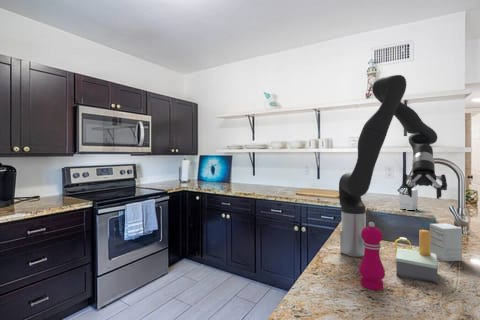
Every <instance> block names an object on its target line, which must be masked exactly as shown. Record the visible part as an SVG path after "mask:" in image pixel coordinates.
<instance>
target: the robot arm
mask: <svg viewBox="0 0 480 320" xmlns="http://www.w3.org/2000/svg"><path fill="white" fill-rule="evenodd" d="M371 89H372V90H371V91H372V94H373V96H374V97H375V99H376V100H377V101H378V102H380V103H381V104H380V106H379V108H378V109H377V110H376V111H375V112H374V113H373V114H372V115H371V116H370V117H369V118H368V120H367V121H365V123H364V124H363V127H362V129H361V132H360V134H359V137H358V140H357V159H356V163H355V166H354V168H353V170H352V172H345V173H344V174H342V175H341V176H340V178H339V181H338V193H339V194H338V195H339V204H340V207H341V211H340V212H341V217H340V219H341V228H340V229H339V239H340V240H339V241H340V242H339V243H340V244H339V245H340V246H339V247H340V248H339V249H340V250H339V252H340V254H343V255H345V256H349V257H353V258H357V257H358V258H363V257H364V251H365V249H364V246H363V241H364V240H363V239H362V237H361V232H362V230H363V228H365V227H367V225H366V224H367V219H366V218H367V216H366V213H367V212H366V211H367V210H366V209H367V208H366V205H365V204H364V202H363V201H362V196H364V195H366V194H367V192H368V191H369V188H370V186H371V183H372V177H373V173H374V169H375V166H376V163H377V160H378V159H379V155H380V153H381V149H382V147H383V145H384V142H385V140H386V138H387V134H388V131H389V127H390V126H391V124H392V121H393V119H394V117H395V119H397V121H399V123H400V124H401V126H402V128H403V129H404V130H405V131H406V133H407V134H410V135H409V136H408V142H409V145H410V147H411V149H412V162H411V163H412V166H411V167H412V169H411V170H412V174H410V175H408V174H407V173H403V176H402V182H401V183H402V184H401V185H402V189H403V188H404V189H405V188H406V189H408V196H410V197H412V189H415V188H416V187H417V186H422V187H423V186H425V187H429V186H430V187H431V188H432V189H434V190H436V200H437V199H438V200H440V198H442V195H443V194H442V191H447V189H448V188H447V187H448V183H447V177H446V174H443V173H442V174H441V175H436V170H435V169H436V168H435V159H434V150H433V147H432V146H431V145H433V144H435V143H437V141H438V134H437V132H436V131H435V130H434V129H433V128H431V127H430V126H429V125H427V124H426V123H425V122H423V121H422V119H421V117H420V116H419V115H418V113H417V112H416V111H415V110H414V109H413V108H411V107H410V106H408V105H406V104H405V103H403V102H402V100H403V97H404V95H405V93H406V90H407V79H406V77H405V76H404V75H402V74H394V75H389V76H385V77H380V78H377V79H375V81H374V82H373V84H372V88H371ZM410 179H411V181H410V182H409V180H410ZM437 180H438V182H440V183H441V184H440V183H438V182H437ZM408 182H409V183H408Z"/></svg>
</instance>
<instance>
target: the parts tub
mask: <svg viewBox="0 0 480 320" xmlns="http://www.w3.org/2000/svg"><path fill="white" fill-rule="evenodd" d="M395 262H396V264H395V265H396V268H395V269H396V271H395V273H396V276H397V277H400V278H401V277H402V278H405V279H409V280H410V279H411V280H415V281H419V282H425V283H428V284H429V283H430V284H434V285H438V269H436V268H430V267H425V266H420V265H414V264H409V263H404V262H399V261H396V260H395Z"/></svg>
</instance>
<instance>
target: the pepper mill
mask: <svg viewBox="0 0 480 320" xmlns="http://www.w3.org/2000/svg"><path fill="white" fill-rule="evenodd" d="M361 237H362V239H363V240H364V241H363V246H364V249H365V251H364V256H363V257H362V260H361V261H360V263H359V268H358V272H359V273H360V276H361V277H360V284H361V286H363V287H364V288H366V289H368V290H372V291H381V290H383V288H384V281H383V279H384V278H385V277H386V271H385V268H384V265H383V263H382V261H381V256H380V249H382V247H381V245H382V243H381V242H382V240H383V238H384V235H383V232H382V231H381V229H380V228H378V227H376V223H375V222H373V221H370V222H368V226H366V227H365V228H363V230H362V232H361Z"/></svg>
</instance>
